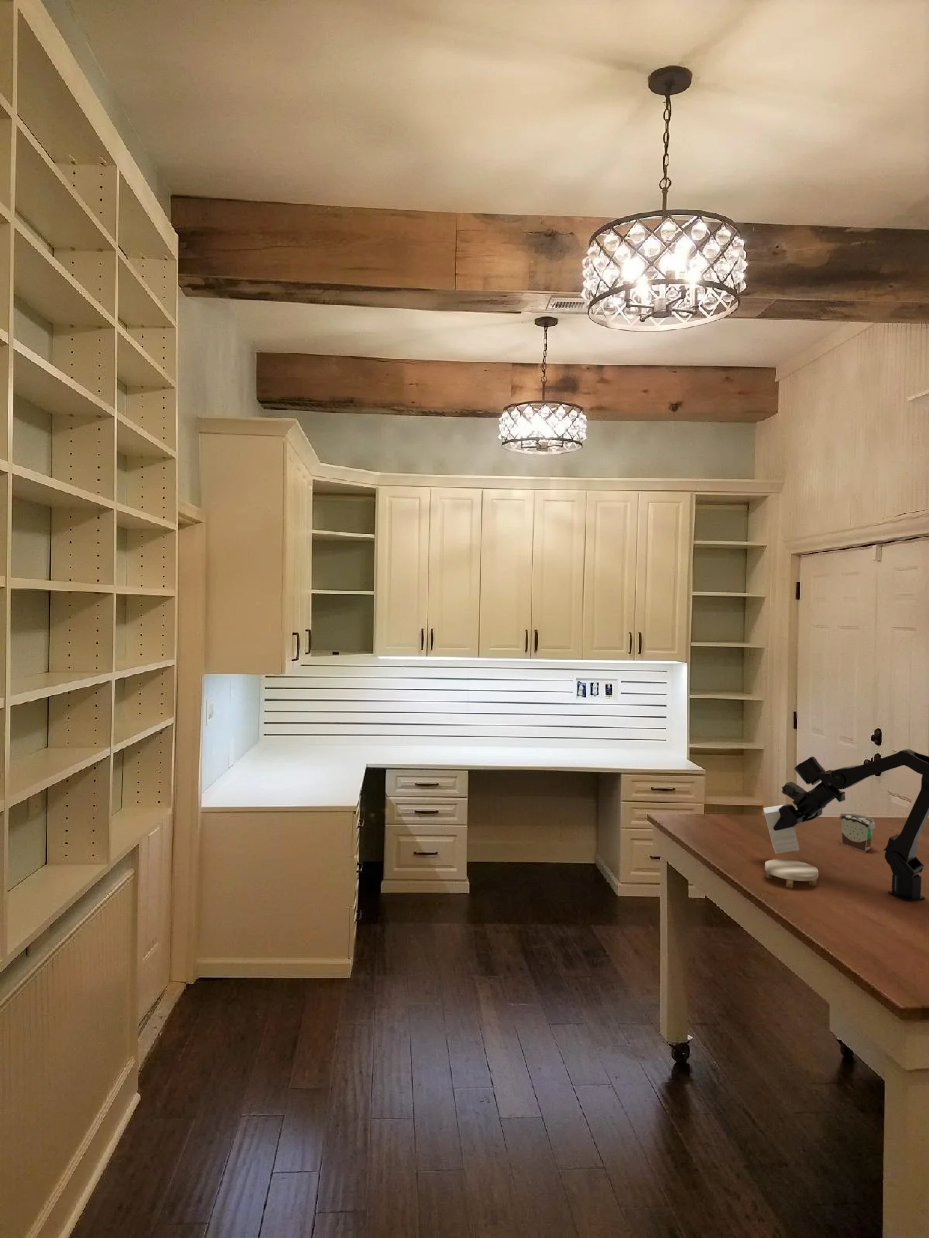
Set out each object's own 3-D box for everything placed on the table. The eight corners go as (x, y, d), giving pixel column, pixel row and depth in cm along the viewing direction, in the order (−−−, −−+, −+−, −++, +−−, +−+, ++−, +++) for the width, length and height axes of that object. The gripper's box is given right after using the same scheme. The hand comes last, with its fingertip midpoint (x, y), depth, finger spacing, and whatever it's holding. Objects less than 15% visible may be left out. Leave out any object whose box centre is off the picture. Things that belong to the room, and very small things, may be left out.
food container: (883, 852, 255) (884, 821, 255) (869, 853, 253) (870, 822, 252) (851, 841, 266) (852, 811, 266) (838, 842, 264) (839, 813, 264)
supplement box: (797, 844, 242) (787, 803, 243) (800, 850, 235) (789, 808, 236) (772, 847, 244) (762, 807, 245) (774, 854, 237) (764, 812, 238)
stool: (829, 887, 220) (829, 873, 220) (788, 891, 215) (789, 877, 215) (792, 870, 233) (793, 857, 233) (754, 874, 228) (754, 861, 228)
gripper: (813, 771, 243) (777, 800, 251) (786, 778, 230) (749, 809, 238) (838, 801, 237) (801, 830, 245) (812, 811, 224) (774, 841, 232)
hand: (781, 826), depth 240 cm, fingers closed on supplement box, 9 cm apart
